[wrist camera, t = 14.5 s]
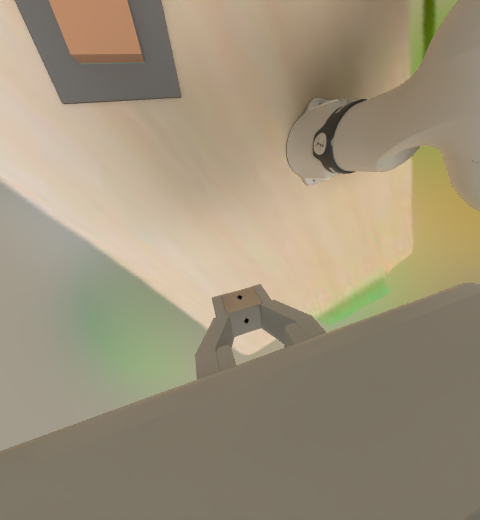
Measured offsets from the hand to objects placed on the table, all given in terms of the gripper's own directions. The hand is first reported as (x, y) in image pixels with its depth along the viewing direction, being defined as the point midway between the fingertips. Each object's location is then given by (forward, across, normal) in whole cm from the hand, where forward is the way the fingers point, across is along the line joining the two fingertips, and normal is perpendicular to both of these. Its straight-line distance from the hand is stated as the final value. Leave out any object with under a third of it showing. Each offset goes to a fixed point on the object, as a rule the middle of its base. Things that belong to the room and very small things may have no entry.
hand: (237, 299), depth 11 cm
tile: (+37, +8, -23) cm, 45 cm away
